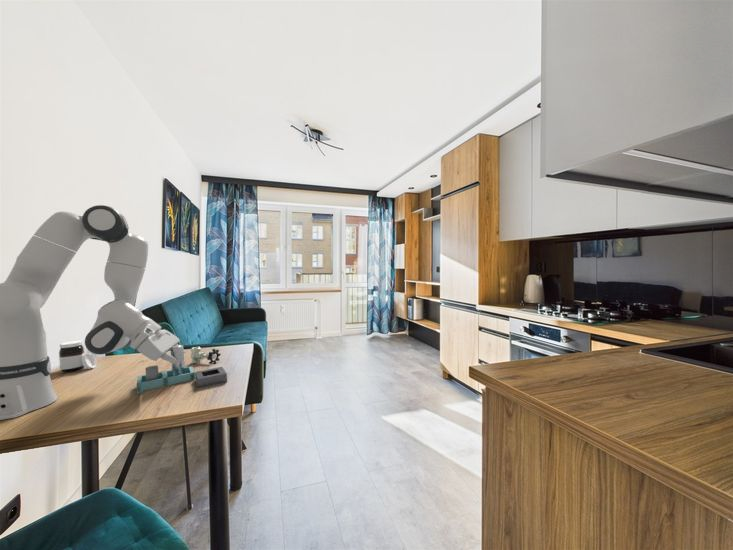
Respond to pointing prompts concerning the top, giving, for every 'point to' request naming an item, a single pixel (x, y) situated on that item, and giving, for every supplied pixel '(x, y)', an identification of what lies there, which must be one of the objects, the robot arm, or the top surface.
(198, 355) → the valve
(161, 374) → the rack
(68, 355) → the spread jar
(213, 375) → the socket block
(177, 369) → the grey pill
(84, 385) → the top surface
